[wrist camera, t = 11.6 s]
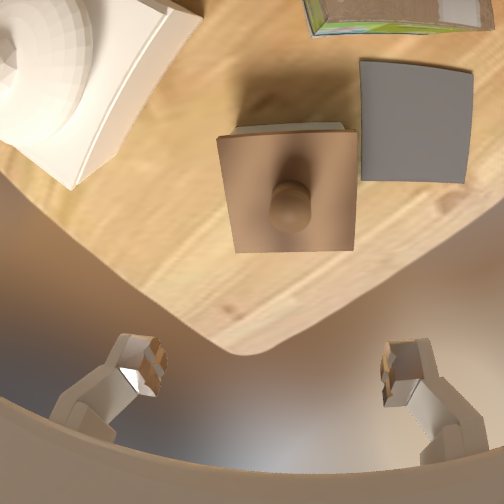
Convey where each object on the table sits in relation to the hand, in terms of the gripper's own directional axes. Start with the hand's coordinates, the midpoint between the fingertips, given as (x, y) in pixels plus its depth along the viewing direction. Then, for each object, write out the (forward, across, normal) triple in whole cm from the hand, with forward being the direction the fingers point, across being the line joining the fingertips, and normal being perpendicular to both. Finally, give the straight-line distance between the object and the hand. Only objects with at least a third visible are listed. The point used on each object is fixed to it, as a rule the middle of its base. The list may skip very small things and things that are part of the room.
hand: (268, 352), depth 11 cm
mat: (+24, -13, -2) cm, 27 cm away
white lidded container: (+24, +19, -13) cm, 33 cm away
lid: (+18, 0, +3) cm, 19 cm away
